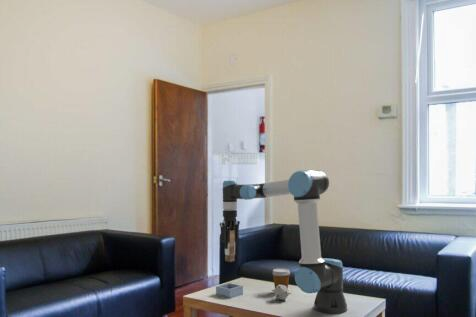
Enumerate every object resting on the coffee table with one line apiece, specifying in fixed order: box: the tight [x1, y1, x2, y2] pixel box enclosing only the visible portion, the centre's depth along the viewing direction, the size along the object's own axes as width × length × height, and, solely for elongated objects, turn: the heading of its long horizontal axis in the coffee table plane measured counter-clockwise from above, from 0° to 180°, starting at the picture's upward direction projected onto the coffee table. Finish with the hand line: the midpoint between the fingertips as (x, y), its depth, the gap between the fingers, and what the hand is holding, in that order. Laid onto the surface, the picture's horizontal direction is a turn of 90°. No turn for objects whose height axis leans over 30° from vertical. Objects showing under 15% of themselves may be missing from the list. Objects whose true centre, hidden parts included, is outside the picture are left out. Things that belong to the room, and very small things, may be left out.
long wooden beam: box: [224, 230, 236, 263], centre depth 236 cm, size 4×4×16 cm
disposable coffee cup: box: [271, 268, 291, 290], centre depth 238 cm, size 10×10×12 cm
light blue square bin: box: [215, 282, 244, 299], centre depth 235 cm, size 10×10×4 cm
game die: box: [271, 283, 292, 302], centre depth 224 cm, size 9×8×10 cm
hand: (229, 254), depth 236 cm, fingers closed on long wooden beam, 3 cm apart
